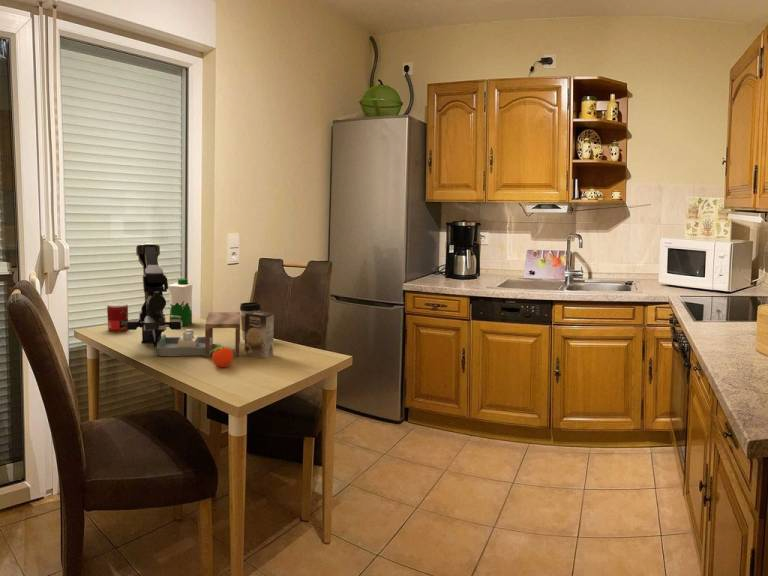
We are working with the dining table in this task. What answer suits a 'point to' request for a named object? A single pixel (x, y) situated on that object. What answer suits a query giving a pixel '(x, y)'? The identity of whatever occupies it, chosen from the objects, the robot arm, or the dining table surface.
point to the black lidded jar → (245, 309)
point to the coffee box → (259, 334)
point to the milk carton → (181, 301)
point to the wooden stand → (222, 322)
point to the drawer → (170, 347)
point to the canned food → (117, 316)
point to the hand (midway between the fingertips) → (155, 347)
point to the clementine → (222, 356)
